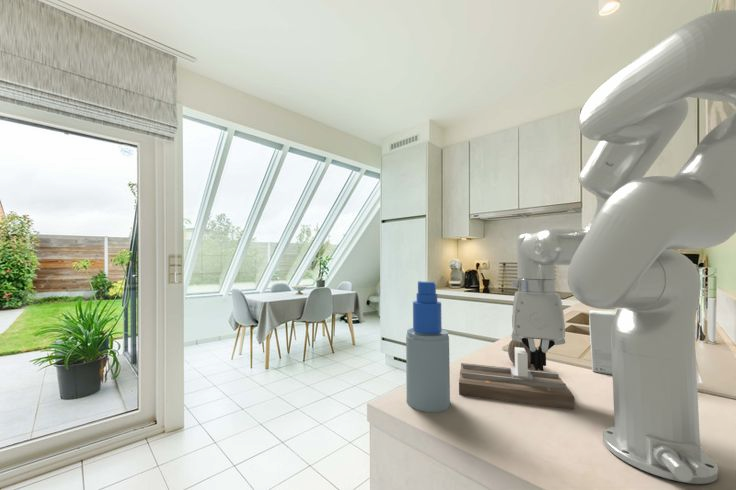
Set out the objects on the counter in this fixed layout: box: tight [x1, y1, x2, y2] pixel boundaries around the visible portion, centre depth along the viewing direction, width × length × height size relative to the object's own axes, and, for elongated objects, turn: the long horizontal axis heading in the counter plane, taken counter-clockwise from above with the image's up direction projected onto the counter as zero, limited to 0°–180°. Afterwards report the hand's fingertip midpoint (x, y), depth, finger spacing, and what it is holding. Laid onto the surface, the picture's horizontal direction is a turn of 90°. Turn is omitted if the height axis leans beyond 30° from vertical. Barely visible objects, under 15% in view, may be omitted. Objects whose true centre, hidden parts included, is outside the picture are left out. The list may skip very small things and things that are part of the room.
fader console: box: [458, 362, 576, 411], centre depth 71 cm, size 14×22×4 cm, turn 71°
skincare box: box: [588, 309, 617, 376], centre depth 84 cm, size 8×7×16 cm
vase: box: [507, 338, 532, 368], centre depth 88 cm, size 7×7×9 cm
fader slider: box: [510, 347, 533, 380], centre depth 71 cm, size 5×4×6 cm
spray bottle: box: [405, 280, 451, 413], centre depth 65 cm, size 9×9×25 cm
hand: (538, 368), depth 70 cm, fingers closed
